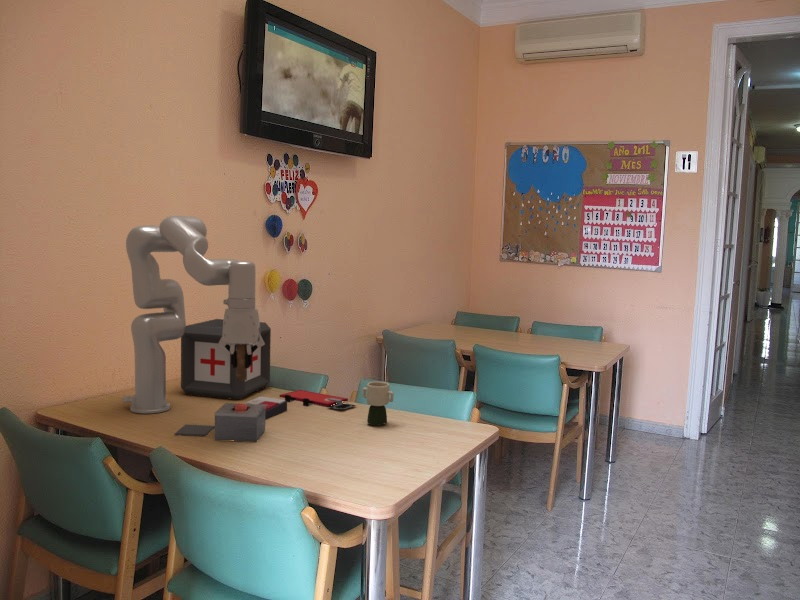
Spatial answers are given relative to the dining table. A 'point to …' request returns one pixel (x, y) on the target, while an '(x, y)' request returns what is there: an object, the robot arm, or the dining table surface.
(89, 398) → the dining table surface
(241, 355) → the brown cylinder
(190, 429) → the rest pad
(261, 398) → the calculator
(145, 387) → the robot arm
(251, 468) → the dining table surface
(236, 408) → the red ball
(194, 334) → the first aid kit
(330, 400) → the red board with handle
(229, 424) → the guard box
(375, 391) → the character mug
